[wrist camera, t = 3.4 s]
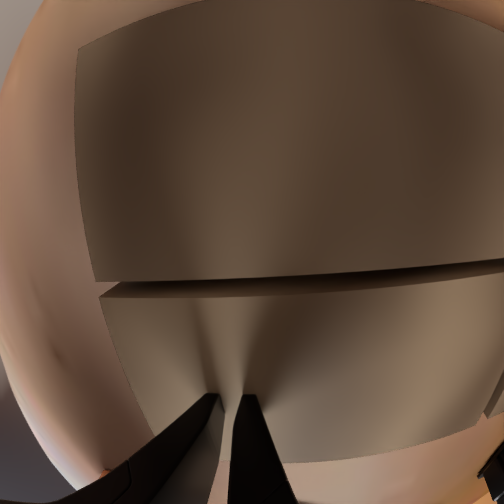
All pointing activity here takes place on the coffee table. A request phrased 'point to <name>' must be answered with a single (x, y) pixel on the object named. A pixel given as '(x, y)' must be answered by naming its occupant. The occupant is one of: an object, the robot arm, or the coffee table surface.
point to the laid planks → (291, 141)
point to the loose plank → (319, 353)
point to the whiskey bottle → (104, 473)
